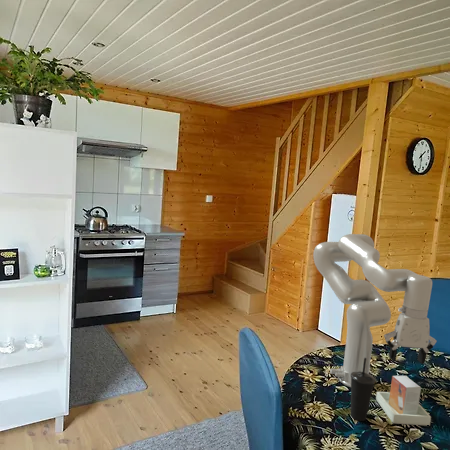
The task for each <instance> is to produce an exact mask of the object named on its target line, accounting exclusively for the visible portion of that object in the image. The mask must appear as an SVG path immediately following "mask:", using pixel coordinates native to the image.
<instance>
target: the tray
mask: <svg viewBox="0 0 450 450" xmlns="http://www.w3.org/2000/svg"><path fill="white" fill-rule="evenodd" d="M389 396H390V391H389V392H387V391H376V396H375V400H376V402H377V403H378V405H379V406H380V407H381V409H382V410H383V411H384V413H385V414H386V416H387V417H388V418H389V419H390V422H392V424H396V425H397V424H398V425H399V424H401V425H412V426H413V425H414V426H415V425H416V426H427V425H429V426H431V419H432V416H431V415H430V414H429V413H428V412H427V411H426V410H425V408H424V407H423V406H422V405H421V404H420V403H419V405H418V411H417V415H409V414H399V413H398V412H397V411H396V410H395V409H394V408H393V407H392V406H391V405H389ZM429 426H428V427H429Z"/></svg>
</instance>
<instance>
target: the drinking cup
mask: <svg viewBox="0 0 450 450" xmlns="http://www.w3.org/2000/svg"><path fill="white" fill-rule="evenodd" d="M365 365H366V358H364V363H363V372H360V371H359V372H352V373H351V387H350V417H351V419H354V420H356V421H359V422H364V421H366V420H367V415H368V410H369V408H370V403H371V399H372V394H373V388H374V385H375V383H376V378H375V377H374V376H373V375H372V374H370V373H369V374H368V373H365Z"/></svg>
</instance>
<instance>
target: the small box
mask: <svg viewBox="0 0 450 450" xmlns="http://www.w3.org/2000/svg"><path fill="white" fill-rule="evenodd" d="M390 383H391V385H390V391H389V392H390V396H389V405H391V406H392V407H393V408H394V409H395V410H396V411H397V412H398V413H399V414H409V415H417V411H418V405H419V404H420V398H421V390H422V387H421V386H420V385H418V384H417V383H416V382H414V380H412V379H410V378H409V377H408V376H407V375H392V376H391V382H390Z"/></svg>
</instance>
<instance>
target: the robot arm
mask: <svg viewBox="0 0 450 450" xmlns="http://www.w3.org/2000/svg"><path fill="white" fill-rule="evenodd" d="M380 254H381V253H380V251H379V250H378V249H377V248H375V243H374V240H373V238H372V237H371V236H369V235H367V234H363V233H362V234H360V233H358V234H356V233H350V234H348V233H347V234H344V235H343V236H341V237H340V238H339V240H338V241H324V242H320V243H318V244H317V245H316V246H315V247H314V249H313V256H312V257H313V262H314V265H315V267H316V270H317V271H318V272H319V273H320V275H322V277H323V278H324V279H325V281H326V282H327V284H328V285H329V286H330V288H331V289H332V291H333V293H334V294H335V296H336V297H337V299H338V300H339V301H340V302H341V303H342V304H343V305H349V306H348V307H347V309H346V323H347V324H346V325H347V326H346V329H347V330H346V341H345V348H344V356H343V357H344V358H343V365H341V366H340V368H330V369H329V370H330V371H329V372H330V374H331V375H334V376H335V377H337V379H338V381H339V382H340V383H342V384H343V385H344V386H346V387H348V388H351V373H352V372H359V371H360V372H363V363H364V358H366V365H365V373H368V374H370V367H371V359H372V349H373V344H374V343H373V341H374V340H373V335H372V332H371V327H377V326H382V325H387V324H388V323H389V322H390V320H391V318H392V313H391V312H392V311H391V309H390V306H389V305H388V303H387V302H386V300H385V299H384V298H383V296H382V295H381V294H380V292H379V291H378V290H381V291H383V292H387V293H392V292H393V293H394V292H404V297H403V302H402V305H401V307H398V312H399V314H398V317H397V319H396V323H395V326H394V330H392V331H390V332H388V333H385V334H383V337H384V339H385V343H386V344H387V346H388V347H389V352H388V357H389V359H390V360H391V361H392V362H396V361H397V355H398V350H397V349H398V348H399V347H401V348H402V347H403V348H413V349H418V355H417V361H418V362H419V363H420V364H421V365H425V361H426V359H427V354H428V353H429V352H430V350H432V349H433V348H434V346H435V345H436V343H437V340H436V339H435V338H434V337H432V336H431V335H430V328H431V327H430V318H428V312H429V307H430V306H429V305H430V300H431V296H432V295H431V294H432V290H433V289H432V288H433V280H432V278H430V277H429V276H426V275H421V274H418V273H416V272H414V271H413V270H410V269H407V268H392V269H387V268H385V267H383V266H382V265H380V264H379V261H380V258H381V255H380ZM350 261H353V262H354V263H356V264H357V265H359V266H360V267H361V268H362V269H361V270H362V273H363V275H364V277H365V279H366V280H365V279H354V278H351V276H349V274H348V273H347V271H346V270H345V269H344V268H343V267H341V266H340V265H339V264H338V263H336V262H339V263H340V262H343V263H344V262H350ZM377 289H378V290H377ZM391 339H393V340H391Z"/></svg>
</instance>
